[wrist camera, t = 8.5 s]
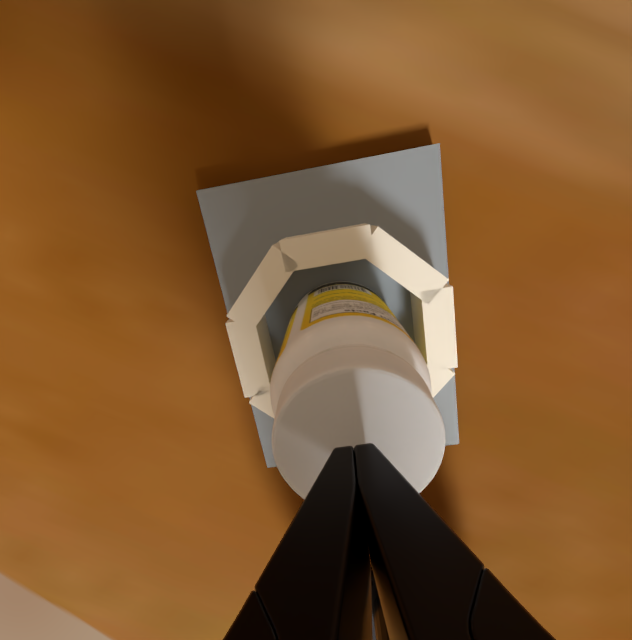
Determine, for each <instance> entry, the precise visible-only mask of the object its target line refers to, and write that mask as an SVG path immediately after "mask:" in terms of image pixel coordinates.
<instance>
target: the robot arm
mask: <svg viewBox="0 0 632 640" xmlns="http://www.w3.org/2000/svg"><path fill="white" fill-rule="evenodd" d="M368 547H369V548H368ZM369 553H370V556H369ZM370 559H371V565H372V569H373V570H371V568H370ZM223 640H556V639H555V638H554V637H553V636H552V635H551V634H550V633H548V632H547V631H546V630H545V629H544V628H543V627H542V626H541V625H540V624H539V623H538V621H537V620H536V619H535V618H534V617H533V616H532V615H531V614H530V613H529V612H528V611H527V610H526V609H525V608H524V607H523V606H522V605H521V604H520V603H519V602H518V601H517V600H516V599H515V598H514V596H513V595H512V594H511V593H510V592H509V591H508V590H507V589H506V588H505V587H504V586H503V585H502V584H501V582H500V581H499V580H498V579H497V578H496V577H495V576H494V575H493V574H492V573H491V571H490V570H489V569H487V568H485V569H484V564H483V563H482V562H481V561H480V560H479V559H478V558H477V556H476V555H475V554H474V553H473V552H472V551H471V550H470V549H469V548H468V547H467V545H466V544H465V543H464V542H463V541H462V540H461V539H460V538H459V537H458V536H457V535H456V533H455V532H454V531H453V530H452V529H451V528H450V527H449V526H448V525H447V524H446V522H445V521H444V520H443V519H442V518H441V517H440V516H439V515H438V514H437V513H436V512H435V510H434V509H433V508H432V507H431V506H430V505H429V504H428V503H427V502H426V501H425V499H424V498H423V497H422V496H421V495H420V494H419V493H418V492H417V491H416V490H415V489H414V487H413V486H412V485H411V484H410V483H409V482H408V481H407V480H406V479H405V478H404V476H403V475H402V474H401V473H400V472H399V471H398V470H397V469H396V468H395V467H394V466H393V464H392V463H391V462H390V461H389V460H388V459H387V458H386V457H385V456H384V455H383V453H382V452H381V451H380V450H379V449H378V448H377V447H376V446H375V445H374V444H373V443H367V444H359V445H356V446H355V447H354V448H353V447H352V446H343V447H336V448H334V449H333V451H332V453H331V454H330V456H329V458H328V460H327V461H326V463H325V465H324V467H323V468H322V470H321V472H320V474H319V475H318V477H317V479H316V481H315V482H314V484H313V486H312V487H311V489H310V491H309V493H308V494H307V496H306V498H305V500H304V501H303V503H302V505H301V507H300V508H299V510H298V512H297V514H296V515H295V517H294V519H293V521H292V522H291V524H290V526H289V527H288V529H287V531H286V533H285V534H284V536H283V538H282V540H281V541H280V543H279V545H278V547H277V548H276V550H275V552H274V554H273V555H272V557H271V559H270V561H269V562H268V564H267V566H266V568H265V569H264V571H263V573H262V574H261V576H260V578H259V580H258V581H257V583H256V585H255V591H252V592H251V593H250V595H249V597H248V598H247V600H246V602H245V604H244V605H243V607H242V609H241V611H240V612H239V614H238V616H237V617H236V619H235V621H234V622H233V624H232V626H231V627H230V629H229V631H228V632H227V634H226V635H225V637H224V639H223Z"/></svg>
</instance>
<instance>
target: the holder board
mask: <svg viewBox="0 0 632 640" xmlns="http://www.w3.org/2000/svg"><path fill="white" fill-rule="evenodd" d="M196 193H197V197H198V200H199V204H200V208H201V212H202V216H203V220H204V224H205V228H206V231H207V235H208V239H209V243H210V247H211V251H212V255H213V259H214V262H215V266H216V270H217V274H218V278H219V282H220V286H221V290H222V293H223V297H224V301H225V305H226V309H227V313H228V314H227V317H228V318H229V320H228V321H227V322H226V323H225V324H226V328H227V332H228V336H229V340H230V343H231V347H232V351H233V355H234V359H235V362H236V366H237V370H238V374H239V378H240V382H241V385H242V389H243V393H244V397H245V398H246V397H249V398H250V401H249V403H250V404H251V406H252V410H253V414H254V418H255V421H256V425H257V429H258V433H259V437H260V441H261V445H262V449H263V452H264V456H265V460H266V464H267V468H269V467H277V465H276V463H275V459H274V456H273V451H272V429H273V423H274V419H275V416H274V413H273V410H272V405H271V397H270V382H271V377H272V373H273V370H274V367H275V364H276V361H277V358H278V356H279V353H280V350H281V347H282V344H283V340H284V337H285V334H286V331H287V328H288V325H289V321H290V318H291V316H292V313H293V311H294V309H295V308H296V306H297V304H298V303H299V302H300V300H301V299H302V298H303V297H304V296H305V295H306V294H307V293H309V292H310V291H311V290H313V289H314V288H316V287H318V286H320V285H323V284H326V283H330V282H336V281H348V282H354V283H357V284H360V285H363V286H365V287H367V288H369V289H371V290H372V291H374V292H375V293H376V294H377V295H378V296H379V297H380V298H381V299H382V300H383V301H384V302H385V303H386V305H387V306H388V308H389V309H390V310H391V312H392V313H393V314H394V316H395V317H396V318H397V320H398V321H399V323H400V324H401V325H402V327H403V328H404V329H405V331H406V332H407V333H408V335H409V336H410V338H411V339H412V340H413V341H414V343H415V344H416V346H417V347H418V348H419V350H420V352H421V354H422V356H423V358H424V360H425V362H426V364H427V367H428V370H429V374H430V379H431V395H432V397H433V399H434V401H435V403H436V405H437V407H438V409H439V411H440V414H441V417H442V420H443V423H444V428H445V440H446V442H445V446H446V445H454V444H459V433H458V418H457V402H456V387H455V371H454V368H457V367H458V363H457V347H456V330H455V314H454V298H453V286H451V285H449V279H448V264H447V248H446V233H445V218H444V202H443V187H442V172H441V156H440V143H438V144H433V145H428V146H423V147H417V148H412V149H407V150H402V151H397V152H392V153H387V154H382V155H376V156H371V157H366V158H361V159H356V160H351V161H346V162H341V163H335V164H330V165H325V166H320V167H315V168H310V169H305V170H300V171H294V172H289V173H284V174H279V175H274V176H269V177H264V178H259V179H253V180H248V181H243V182H238V183H233V184H228V185H223V186H218V187H212V188H207V189H202V190H197V191H196Z"/></svg>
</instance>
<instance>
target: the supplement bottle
mask: <svg viewBox="0 0 632 640" xmlns="http://www.w3.org/2000/svg"><path fill="white" fill-rule="evenodd" d="M270 397H271V405H272V410H273V413H274V416H275V419H274V423H273V429H272V451H273V456H274V459H275V463H276V465H277V467H278V470H279V472H280V474H281V475H282V477H283V478H284V480H285V481H286V482H287V484H288V485H289V486H290V487H291V488H292V489H293V490H294V491H295V492H296V493H297V494H298V495H299V496H301V497H302V498H303V499H305V498H306V496H307V494H308V493H309V491H310V489H311V487H312V486H313V484H314V482H315V481H316V479H317V477H318V475H319V474H320V472H321V470H322V468H323V467H324V465H325V463H326V461H327V460H328V458H329V456H330V454H331V453H332V451H333V449H334V448H336V447H343V446H352V447H353V448H354V447H355V446H356V445H359V444H367V443H373V444H374V445H375V446H376V447H377V448H378V449H379V450H380V451H381V452H382V453H383V455H384V456H385V457H386V458H387V459H388V460H389V461H390V462H391V463H392V464H393V466H394V467H395V468H396V469H397V470H398V471H399V472H400V473H401V474H402V475H403V476H404V478H405V479H406V480H407V481H408V482H409V483H410V484H411V485H412V486H413V487H414V489H415V490H416V491H417V492H418V493H420V492H421V491H422V490H423V489H424V488H425V487H426V486H427V485H428V484H429V483H430V482H431V480H432V479H433V477H434V476H435V474H436V473H437V471H438V469H439V467H440V464H441V462H442V459H443V455H444V451H445V442H446V440H445V428H444V423H443V420H442V417H441V414H440V411H439V409H438V407H437V405H436V403H435V401H434V399H433V397H432V395H431V379H430V374H429V370H428V367H427V364H426V362H425V360H424V358H423V356H422V354H421V352H420V350H419V348H418V347H417V346H416V344H415V343H414V341H413V340H412V339H411V338H410V336H409V335H408V333H407V332H406V331H405V329H404V328H403V327H402V325H401V324H400V323H399V321H398V320H397V318H396V317H395V316H394V314H393V313H392V312H391V310H390V309H389V308H388V306H387V305H386V303H385V302H384V301H383V300H382V299H381V298H380V297H379V296H378V295H377V294H376V293H375V292H374V291H372V290H371V289H369V288H367V287H365V286H363V285H360V284H357V283H354V282H348V281H336V282H330V283H326V284H323V285H320V286H318V287H316V288H314V289H313V290H311V291H310V292H309V293H307V294H306V295H305V296H304V297H303V298H302V299H301V300H300V302H299V303H298V304H297V306H296V308H295V309H294V311H293V313H292V316H291V318H290V321H289V325H288V328H287V331H286V334H285V337H284V340H283V344H282V347H281V350H280V353H279V356H278V358H277V361H276V364H275V367H274V370H273V373H272V377H271V382H270Z"/></svg>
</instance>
